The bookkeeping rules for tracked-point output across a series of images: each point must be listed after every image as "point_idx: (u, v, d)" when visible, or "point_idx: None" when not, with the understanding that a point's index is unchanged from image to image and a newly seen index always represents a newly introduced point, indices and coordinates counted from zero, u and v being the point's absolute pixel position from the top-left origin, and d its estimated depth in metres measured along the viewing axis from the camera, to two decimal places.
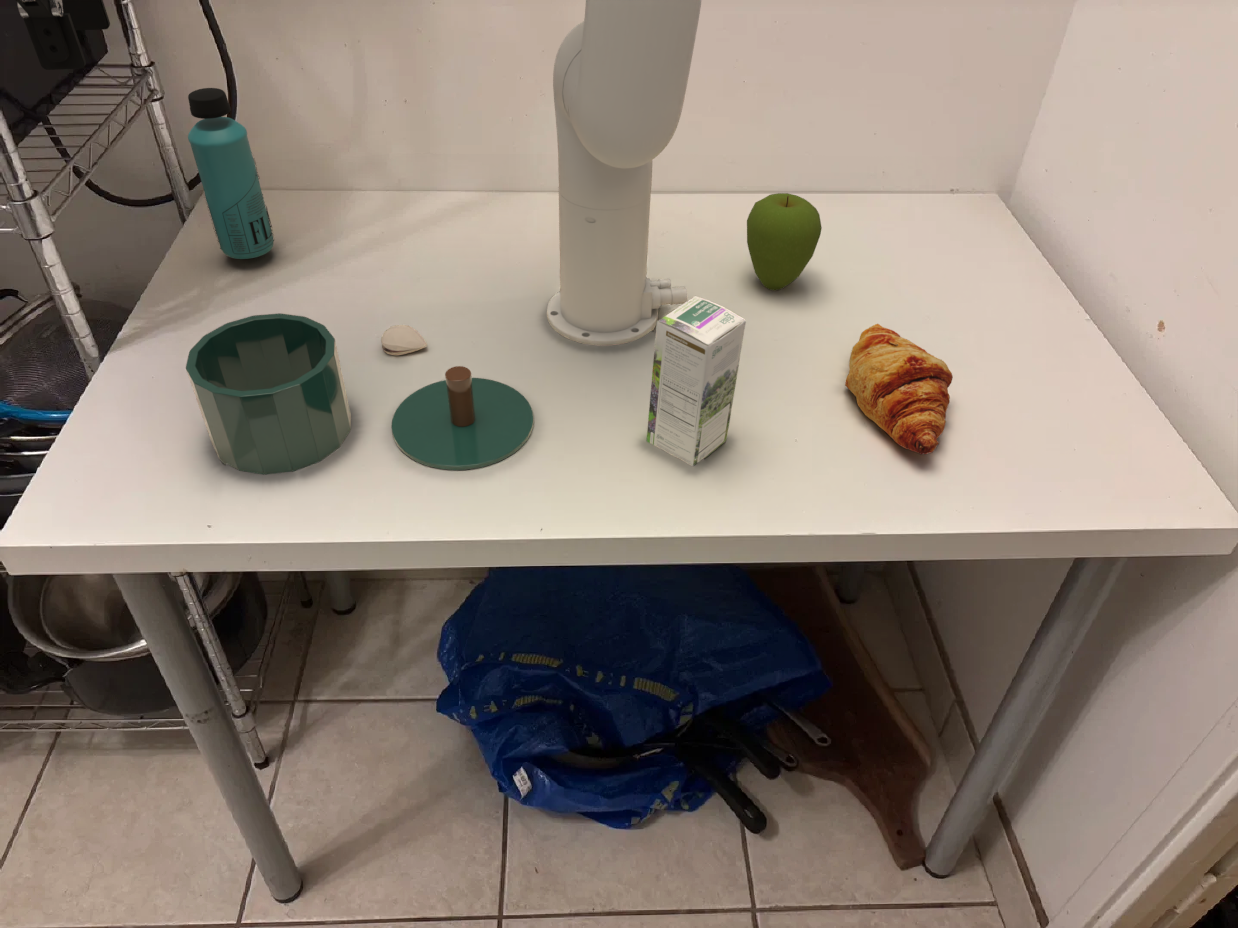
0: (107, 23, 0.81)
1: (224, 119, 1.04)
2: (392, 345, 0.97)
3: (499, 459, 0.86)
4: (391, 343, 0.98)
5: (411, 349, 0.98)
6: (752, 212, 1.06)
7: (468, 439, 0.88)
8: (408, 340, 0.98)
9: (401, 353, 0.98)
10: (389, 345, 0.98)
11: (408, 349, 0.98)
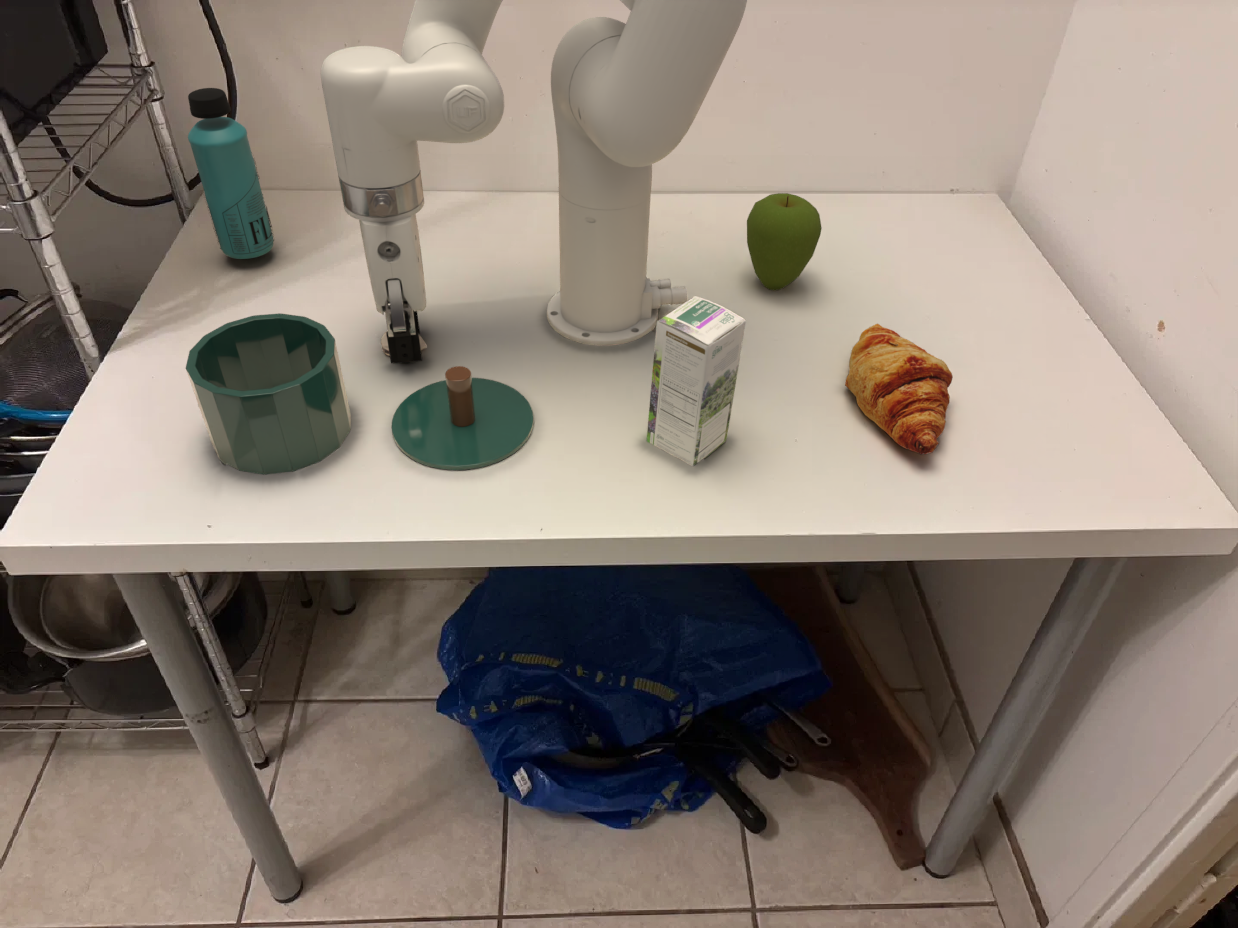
0: (419, 333, 1.02)
1: (224, 119, 1.04)
2: None
3: (499, 459, 0.86)
4: None
5: None
6: (752, 212, 1.06)
7: (468, 439, 0.88)
8: None
9: None
10: (388, 347, 0.97)
11: None
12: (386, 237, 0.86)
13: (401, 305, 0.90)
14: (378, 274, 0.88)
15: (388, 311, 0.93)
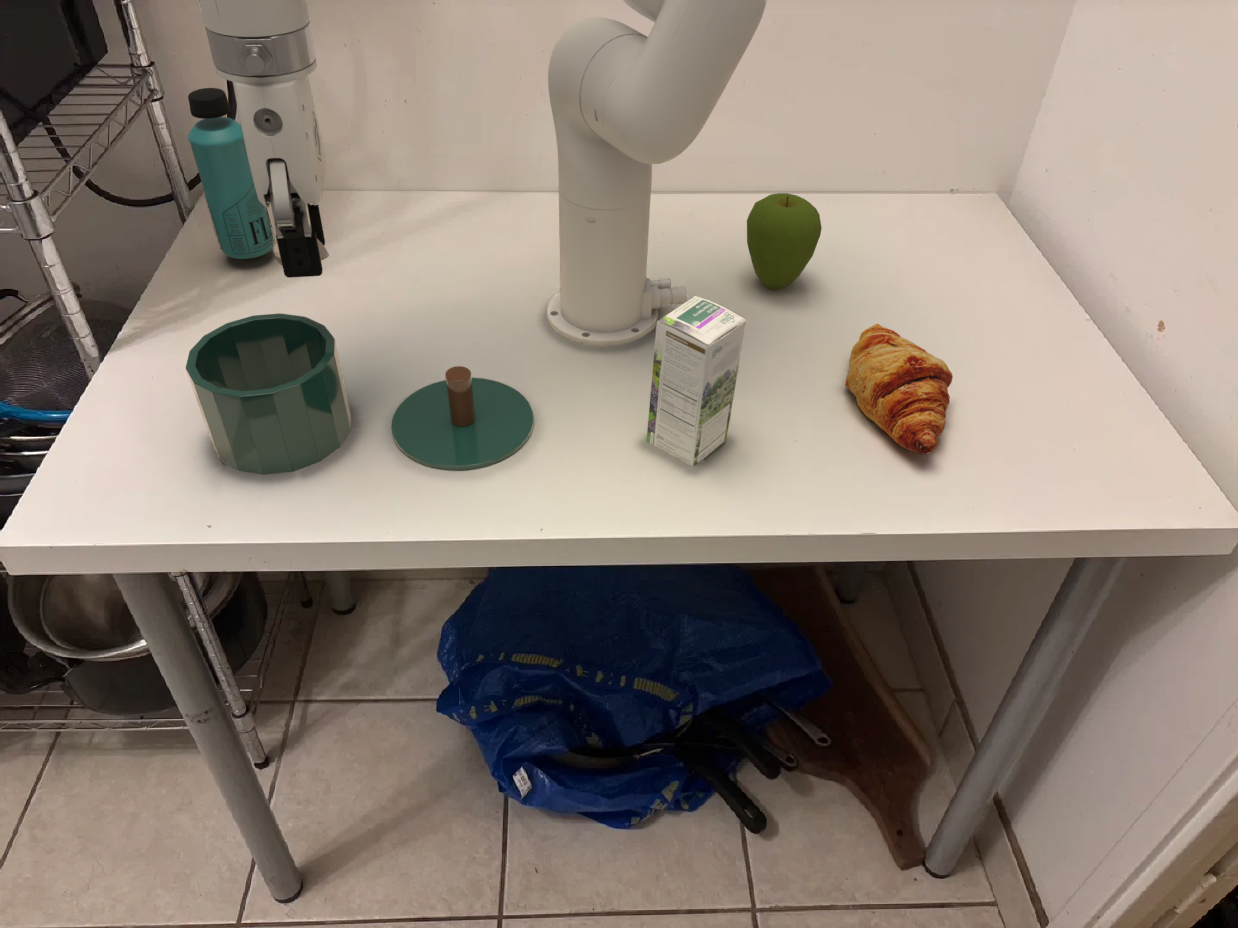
0: (323, 242, 0.85)
1: (224, 119, 1.04)
2: None
3: (499, 459, 0.86)
4: None
5: None
6: (752, 212, 1.06)
7: (468, 439, 0.88)
8: None
9: None
10: None
11: None
12: (263, 103, 0.70)
13: (286, 193, 0.73)
14: (256, 152, 0.72)
15: None
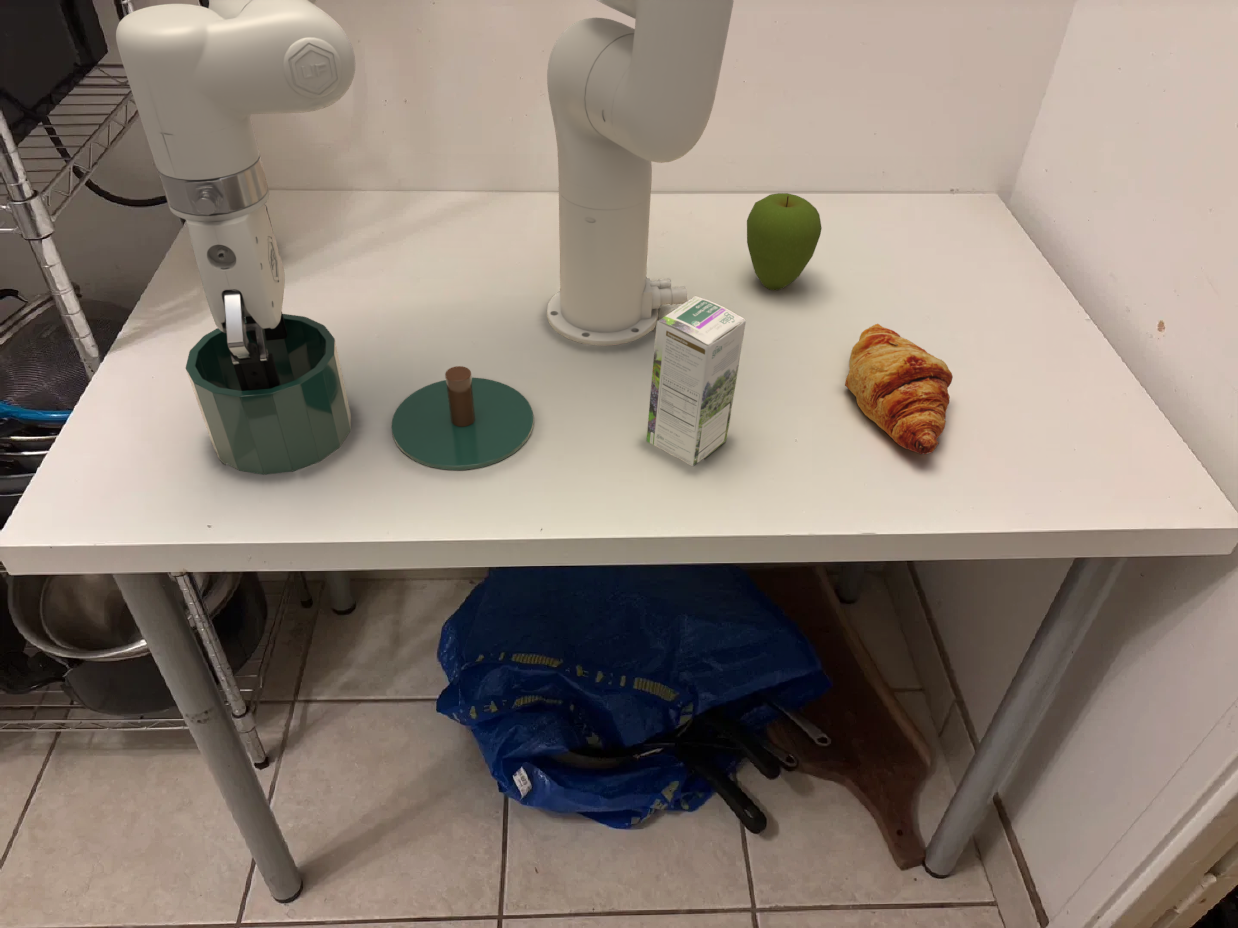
0: (285, 334, 0.87)
1: None
2: None
3: (499, 459, 0.86)
4: None
5: None
6: (752, 212, 1.06)
7: (468, 439, 0.88)
8: None
9: None
10: None
11: None
12: (216, 240, 0.71)
13: (239, 316, 0.73)
14: (211, 285, 0.73)
15: None
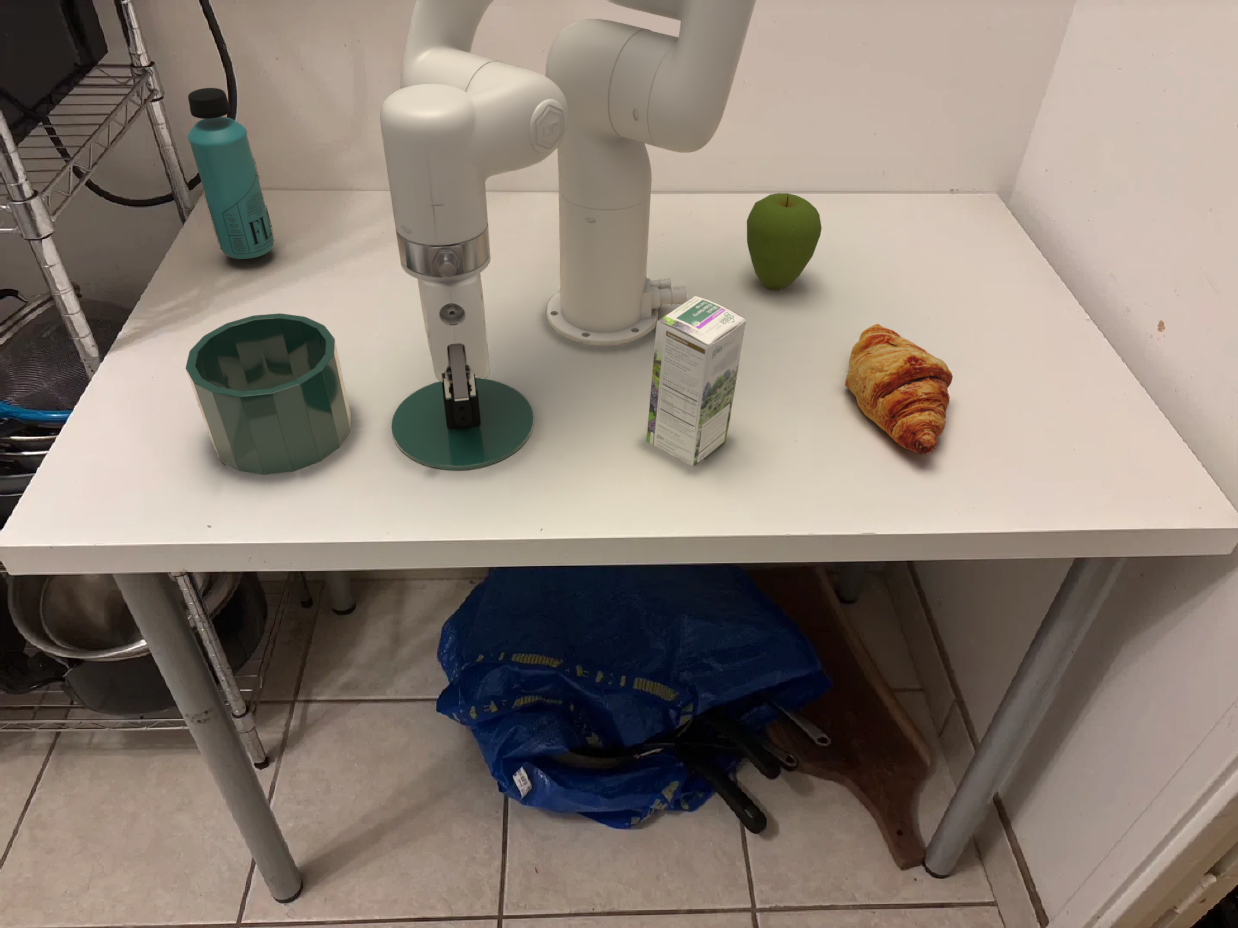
0: None
1: (224, 119, 1.04)
2: None
3: (499, 459, 0.86)
4: None
5: None
6: (752, 212, 1.06)
7: (468, 439, 0.88)
8: None
9: None
10: None
11: None
12: (449, 299, 0.76)
13: (464, 373, 0.80)
14: (439, 339, 0.78)
15: (447, 375, 0.83)
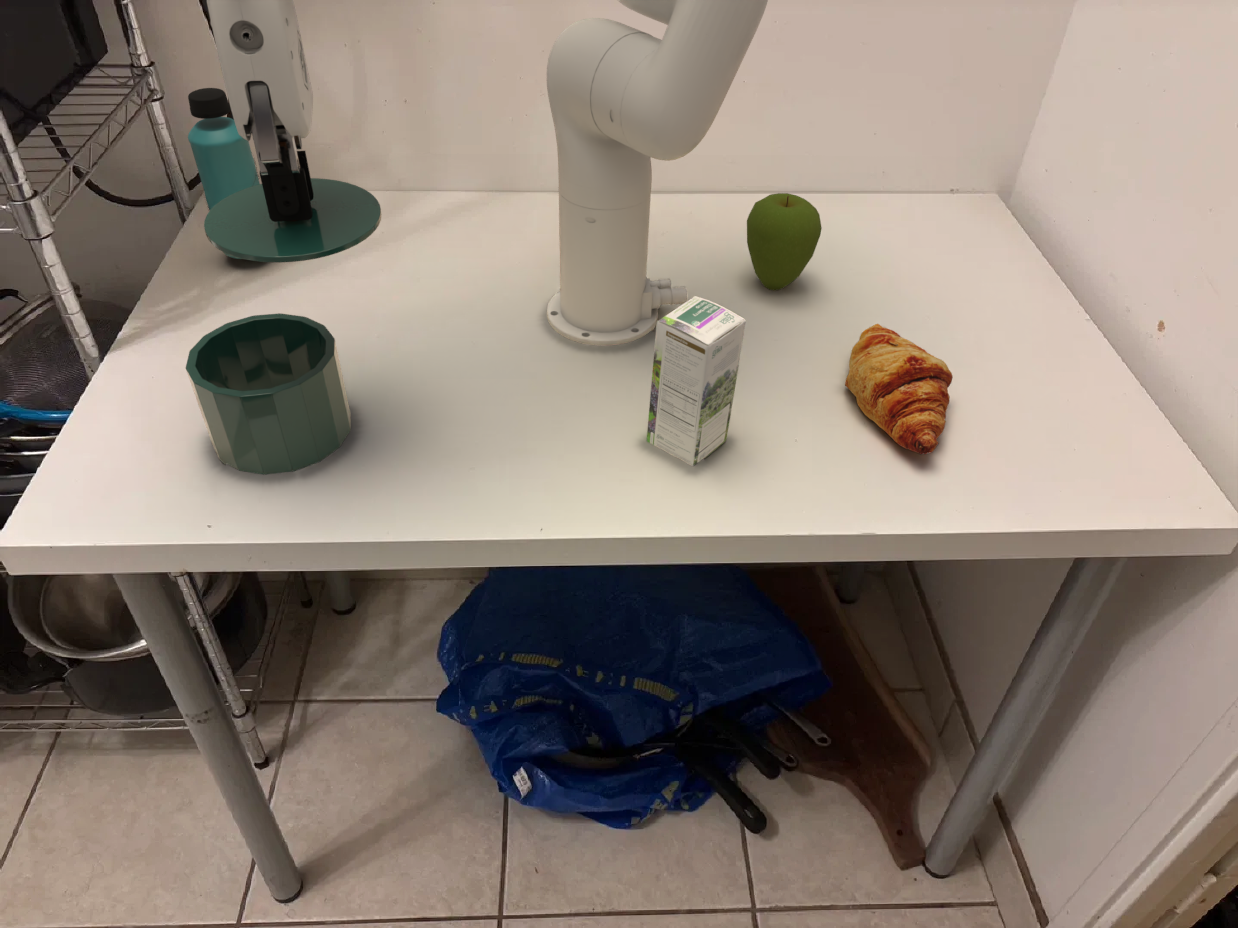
0: (312, 195, 0.75)
1: (224, 119, 1.04)
2: None
3: (330, 252, 0.71)
4: None
5: None
6: (752, 212, 1.06)
7: (295, 232, 0.72)
8: None
9: None
10: None
11: None
12: (241, 14, 0.60)
13: (271, 125, 0.64)
14: (234, 73, 0.62)
15: (258, 138, 0.67)
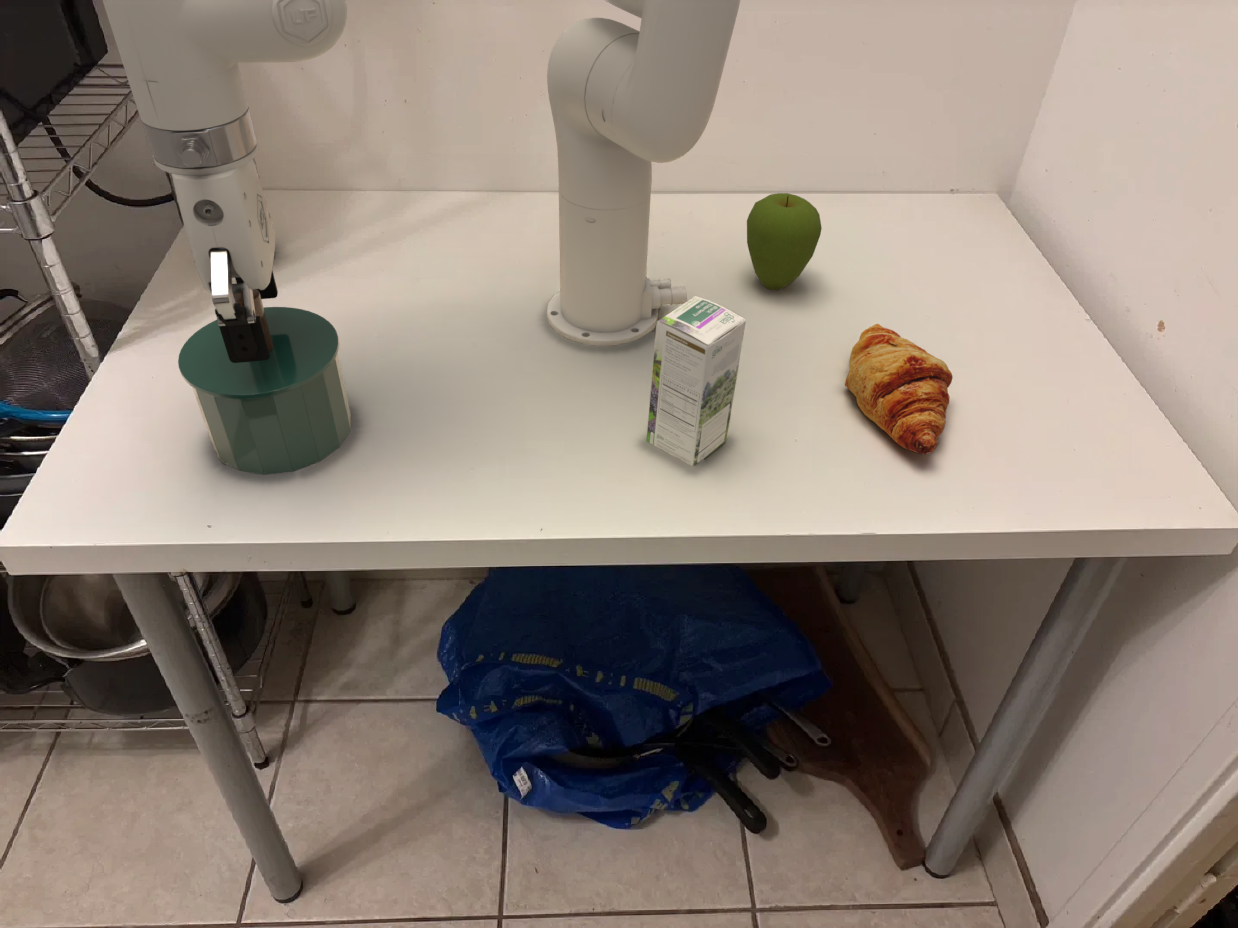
0: (276, 293, 0.85)
1: None
2: None
3: (289, 388, 0.79)
4: None
5: None
6: (752, 212, 1.06)
7: (259, 368, 0.80)
8: None
9: None
10: None
11: None
12: (202, 195, 0.68)
13: (225, 271, 0.70)
14: (198, 242, 0.70)
15: None
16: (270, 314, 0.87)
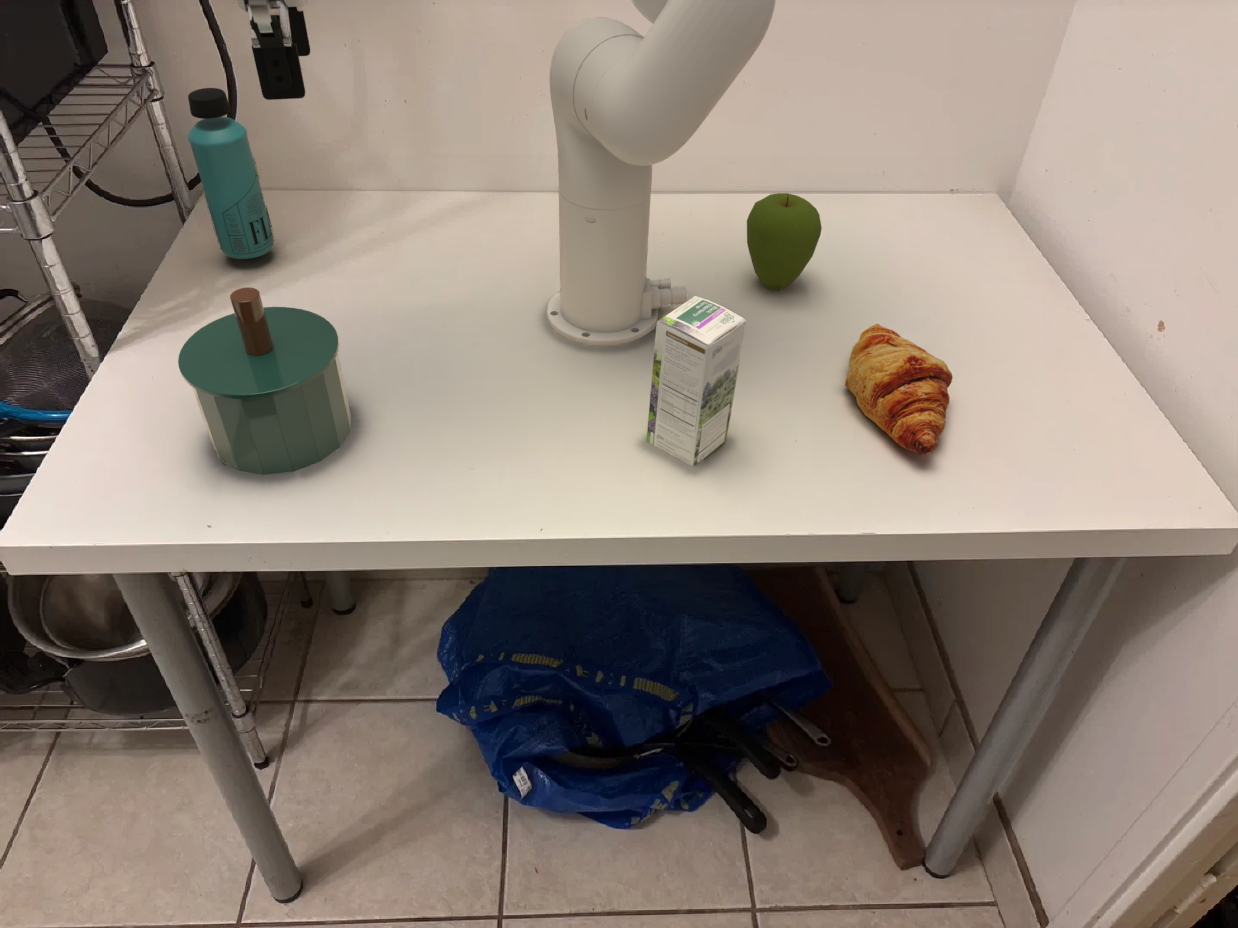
0: (308, 50, 0.80)
1: (224, 119, 1.04)
2: None
3: (289, 388, 0.79)
4: None
5: None
6: (752, 212, 1.06)
7: (259, 368, 0.80)
8: None
9: None
10: None
11: None
12: None
13: None
14: None
15: None
16: (270, 314, 0.87)
